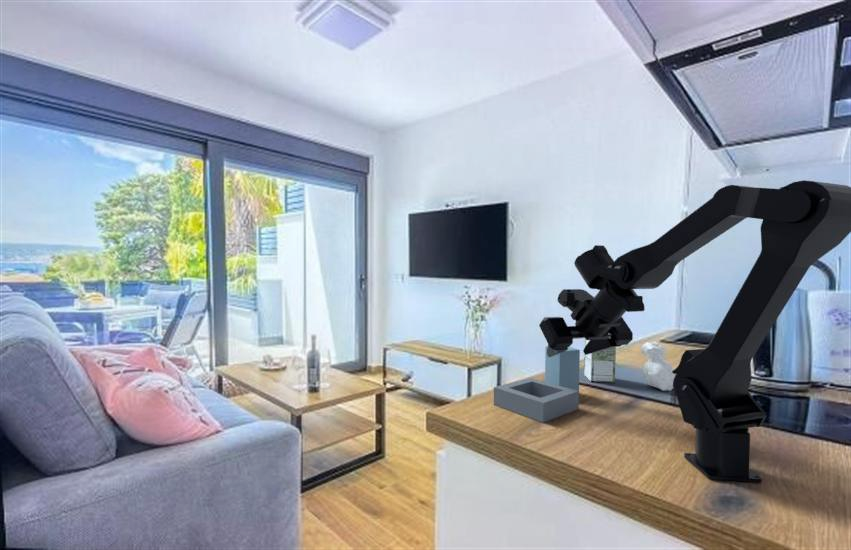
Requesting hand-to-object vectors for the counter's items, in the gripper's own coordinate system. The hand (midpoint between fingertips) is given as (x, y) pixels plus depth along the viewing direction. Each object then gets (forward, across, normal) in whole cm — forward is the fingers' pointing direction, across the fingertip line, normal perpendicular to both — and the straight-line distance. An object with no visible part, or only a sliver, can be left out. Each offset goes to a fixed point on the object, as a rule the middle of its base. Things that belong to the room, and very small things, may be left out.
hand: (566, 354), depth 86 cm
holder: (+4, +10, +9) cm, 14 cm away
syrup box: (+12, -16, +1) cm, 20 cm away
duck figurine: (+6, -26, +7) cm, 27 cm away
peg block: (+7, 0, +5) cm, 9 cm away
